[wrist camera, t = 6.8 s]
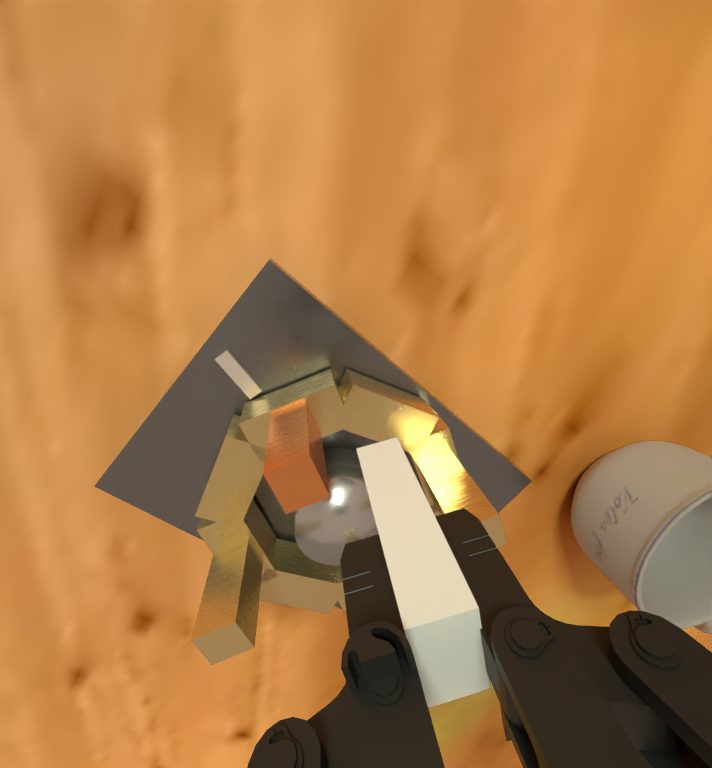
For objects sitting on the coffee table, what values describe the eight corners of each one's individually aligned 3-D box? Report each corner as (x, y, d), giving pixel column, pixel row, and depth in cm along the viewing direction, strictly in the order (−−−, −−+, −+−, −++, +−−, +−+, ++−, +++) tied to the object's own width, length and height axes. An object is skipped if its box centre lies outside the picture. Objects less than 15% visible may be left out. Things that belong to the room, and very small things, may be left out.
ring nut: (164, 435, 20) (95, 536, 13) (410, 336, 20) (469, 384, 13) (276, 604, 26) (269, 738, 19) (469, 525, 26) (534, 629, 19)
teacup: (546, 445, 27) (642, 522, 19) (684, 402, 27) (829, 462, 20) (553, 580, 32) (631, 682, 25) (669, 542, 32) (779, 631, 25)
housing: (271, 258, 20) (262, 263, 14) (519, 468, 27) (571, 520, 22) (106, 471, 22) (51, 538, 17) (373, 608, 30) (389, 684, 25)
